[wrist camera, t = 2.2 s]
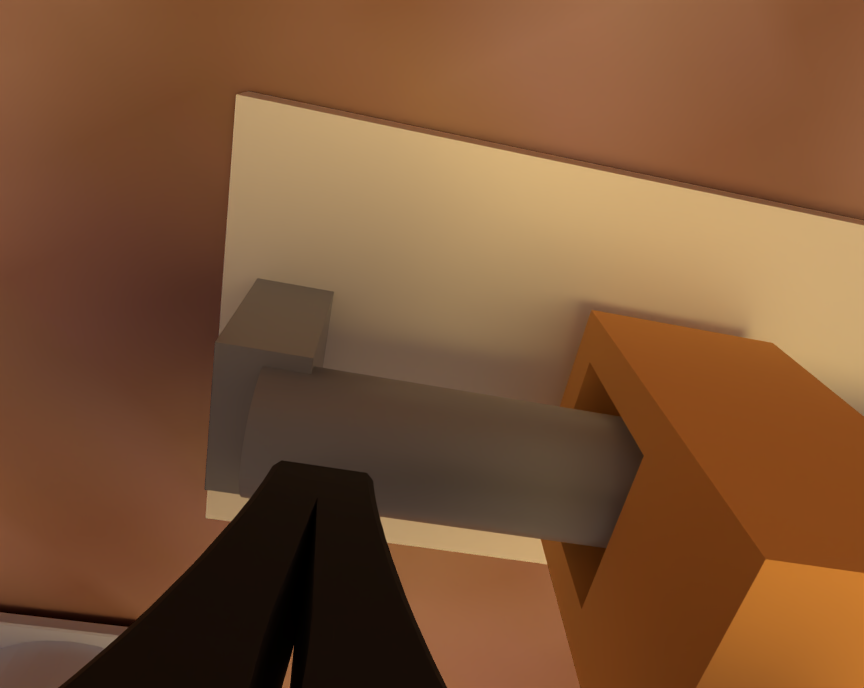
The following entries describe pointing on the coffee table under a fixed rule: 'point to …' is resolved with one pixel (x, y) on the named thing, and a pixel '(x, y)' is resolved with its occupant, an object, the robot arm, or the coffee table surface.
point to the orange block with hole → (717, 518)
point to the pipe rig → (481, 317)
